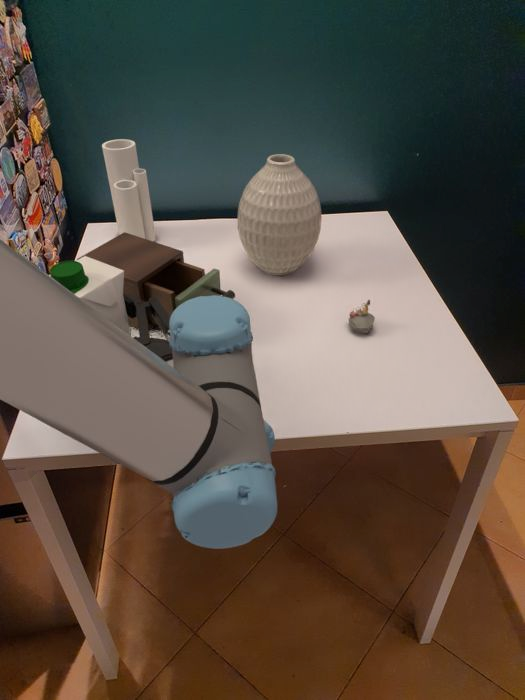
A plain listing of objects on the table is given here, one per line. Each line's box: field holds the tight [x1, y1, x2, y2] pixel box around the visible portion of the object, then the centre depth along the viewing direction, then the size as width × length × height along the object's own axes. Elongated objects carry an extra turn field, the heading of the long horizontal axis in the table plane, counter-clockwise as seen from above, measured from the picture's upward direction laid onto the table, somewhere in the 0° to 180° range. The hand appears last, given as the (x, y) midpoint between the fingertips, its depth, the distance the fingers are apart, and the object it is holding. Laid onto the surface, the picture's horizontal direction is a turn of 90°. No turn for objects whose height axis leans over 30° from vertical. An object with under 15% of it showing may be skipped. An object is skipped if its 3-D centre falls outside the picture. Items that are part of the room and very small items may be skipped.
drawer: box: [142, 260, 236, 326], centre depth 88 cm, size 17×11×8 cm, turn 59°
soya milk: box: [48, 256, 133, 337], centre depth 73 cm, size 9×9×20 cm
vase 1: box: [101, 138, 157, 242], centre depth 110 cm, size 11×7×20 cm, turn 27°
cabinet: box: [76, 232, 185, 331], centre depth 93 cm, size 14×12×10 cm
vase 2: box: [236, 153, 323, 276], centre depth 99 cm, size 16×16×22 cm
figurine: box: [348, 299, 376, 334], centre depth 89 cm, size 5×4×6 cm
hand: (78, 304), depth 75 cm, fingers closed on soya milk, 9 cm apart
